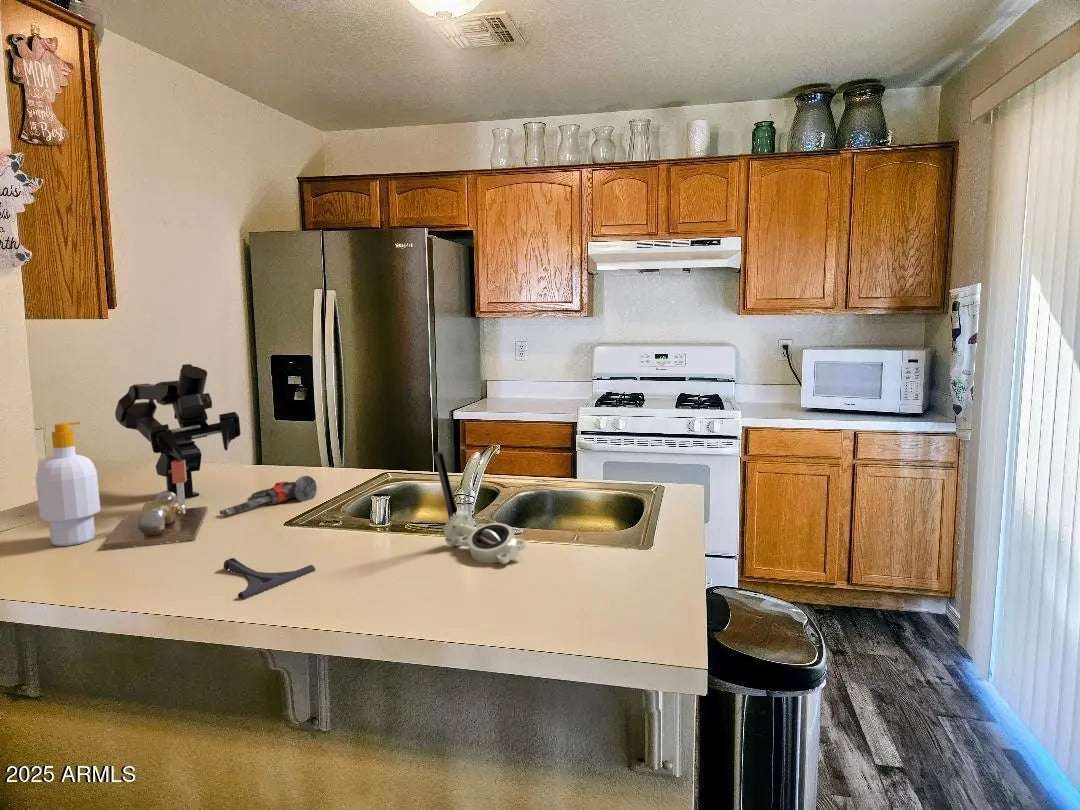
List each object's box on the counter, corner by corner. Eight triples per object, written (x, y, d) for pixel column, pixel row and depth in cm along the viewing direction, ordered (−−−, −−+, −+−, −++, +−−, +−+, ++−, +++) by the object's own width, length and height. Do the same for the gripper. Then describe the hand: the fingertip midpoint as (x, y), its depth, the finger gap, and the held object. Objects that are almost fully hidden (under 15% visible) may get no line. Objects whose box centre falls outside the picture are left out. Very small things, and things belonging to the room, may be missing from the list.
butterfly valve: (534, 554, 130) (471, 527, 141) (516, 462, 121) (451, 441, 132) (502, 580, 124) (440, 550, 135) (482, 486, 116) (417, 462, 127)
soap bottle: (110, 540, 140) (98, 423, 137) (49, 553, 133) (36, 430, 130) (95, 529, 147) (84, 418, 144) (37, 541, 140) (24, 424, 137)
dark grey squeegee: (261, 559, 131) (260, 545, 130) (315, 574, 123) (314, 559, 123) (189, 586, 118) (188, 570, 118) (244, 604, 111) (243, 587, 110)
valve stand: (129, 518, 155) (127, 492, 154) (207, 511, 160) (205, 485, 160) (104, 550, 135) (101, 519, 134) (195, 540, 140) (192, 510, 139)
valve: (292, 495, 183) (330, 494, 175) (201, 525, 161) (240, 526, 153) (287, 471, 182) (325, 469, 174) (195, 499, 160) (234, 498, 152)
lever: (177, 512, 149) (172, 460, 148) (189, 511, 150) (185, 459, 149) (175, 515, 147) (171, 462, 145) (187, 514, 148) (183, 461, 146)
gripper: (140, 393, 155) (152, 434, 145) (228, 379, 165) (245, 416, 155) (147, 432, 161) (159, 474, 151) (232, 416, 171) (248, 454, 161)
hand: (204, 453), depth 154 cm, fingers open, 9 cm apart
